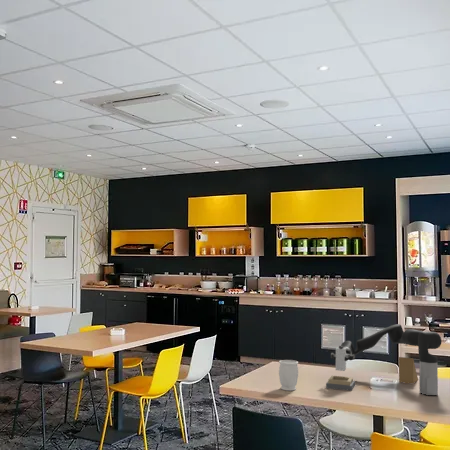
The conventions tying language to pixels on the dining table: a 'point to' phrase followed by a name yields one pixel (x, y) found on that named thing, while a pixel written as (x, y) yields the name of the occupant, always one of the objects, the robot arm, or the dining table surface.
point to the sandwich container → (407, 370)
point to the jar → (288, 374)
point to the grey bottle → (340, 358)
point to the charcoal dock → (342, 387)
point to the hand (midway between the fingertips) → (340, 358)
